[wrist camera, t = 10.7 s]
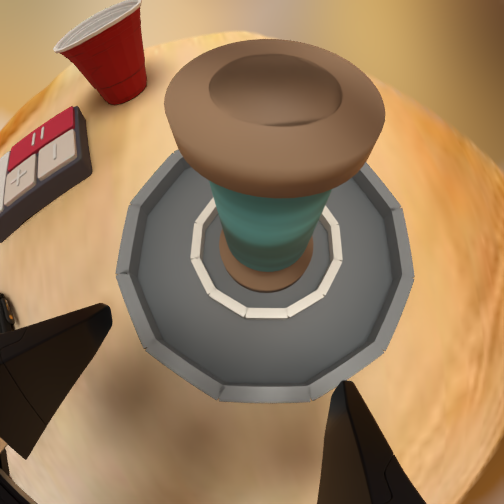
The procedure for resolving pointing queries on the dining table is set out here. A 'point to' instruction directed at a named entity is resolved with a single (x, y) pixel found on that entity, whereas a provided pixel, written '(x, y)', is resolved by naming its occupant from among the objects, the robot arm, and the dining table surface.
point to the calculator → (42, 168)
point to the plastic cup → (109, 51)
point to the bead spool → (272, 146)
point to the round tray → (263, 304)
